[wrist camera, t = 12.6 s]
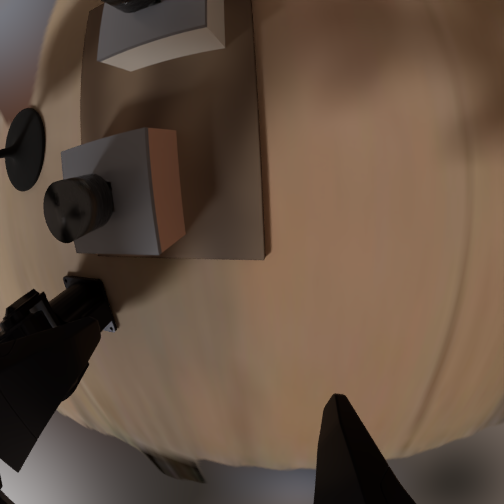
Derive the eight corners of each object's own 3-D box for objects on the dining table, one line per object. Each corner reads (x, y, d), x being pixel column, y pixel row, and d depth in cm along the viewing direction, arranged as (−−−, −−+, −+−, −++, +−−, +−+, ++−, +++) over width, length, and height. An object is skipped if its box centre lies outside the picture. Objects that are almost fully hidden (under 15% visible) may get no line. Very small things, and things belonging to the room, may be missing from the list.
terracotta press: (108, 235, 22) (76, 253, 18) (96, 148, 19) (60, 152, 15) (185, 234, 21) (158, 255, 17) (176, 130, 18) (144, 127, 14)
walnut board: (101, 253, 24) (97, 255, 23) (93, 12, 15) (89, 11, 14) (265, 257, 21) (264, 260, 20) (248, -39, 12) (246, -42, 11)
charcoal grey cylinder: (119, 211, 20) (50, 243, 13) (113, 169, 19) (39, 186, 12) (154, 209, 20) (86, 243, 12) (149, 163, 18) (75, 176, 11)
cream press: (130, 71, 16) (96, 60, 12) (136, 1, 14) (108, -17, 10) (225, 48, 15) (205, 24, 11) (223, -25, 12) (206, -53, 8)
